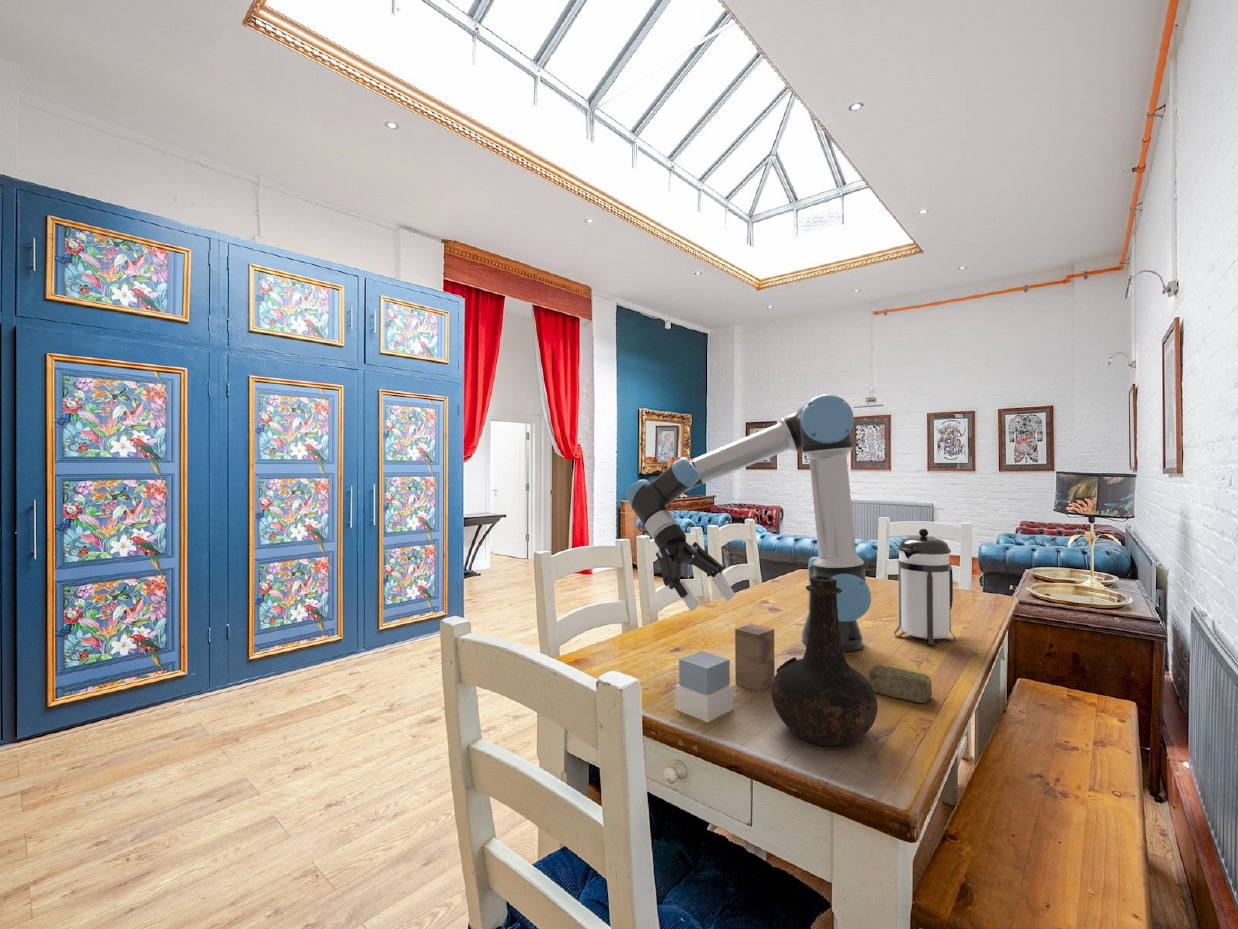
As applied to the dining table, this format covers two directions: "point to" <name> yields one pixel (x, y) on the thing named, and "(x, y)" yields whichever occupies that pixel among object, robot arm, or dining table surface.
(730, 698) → the tower base block
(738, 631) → the walnut block
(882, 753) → the dining table surface
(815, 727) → the dark brown bulbous vessel
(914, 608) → the coffee press
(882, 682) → the stone block
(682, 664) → the tower top block
